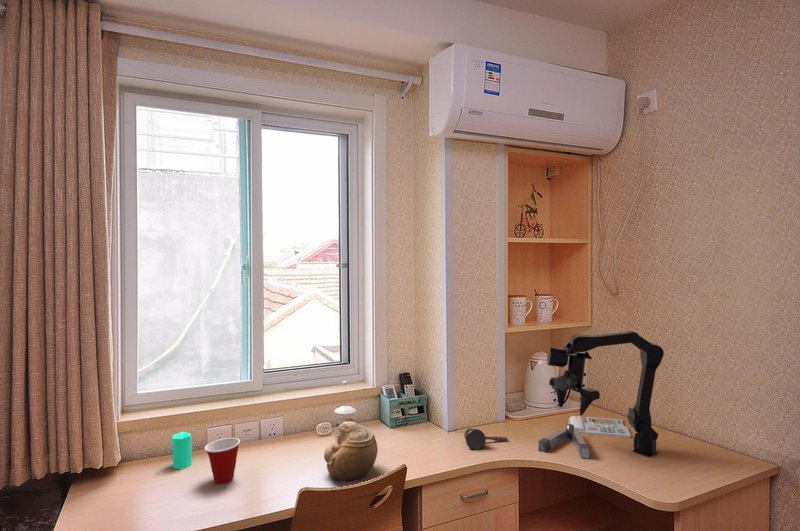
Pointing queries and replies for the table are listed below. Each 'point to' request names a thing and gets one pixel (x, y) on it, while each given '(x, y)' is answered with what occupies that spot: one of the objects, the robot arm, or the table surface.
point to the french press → (343, 411)
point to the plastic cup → (223, 458)
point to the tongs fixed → (556, 438)
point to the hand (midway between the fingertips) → (570, 411)
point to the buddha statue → (351, 452)
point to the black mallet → (479, 439)
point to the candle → (182, 450)
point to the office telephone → (600, 426)
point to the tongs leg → (580, 444)
